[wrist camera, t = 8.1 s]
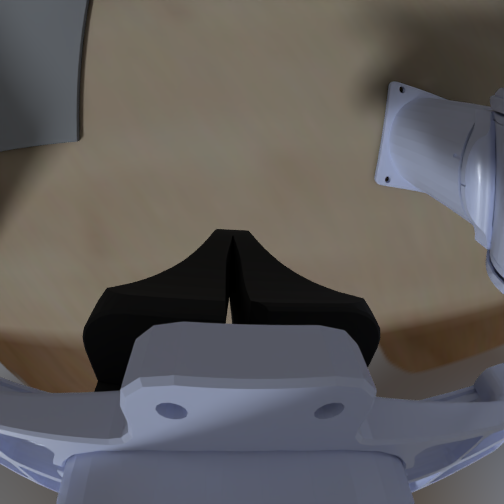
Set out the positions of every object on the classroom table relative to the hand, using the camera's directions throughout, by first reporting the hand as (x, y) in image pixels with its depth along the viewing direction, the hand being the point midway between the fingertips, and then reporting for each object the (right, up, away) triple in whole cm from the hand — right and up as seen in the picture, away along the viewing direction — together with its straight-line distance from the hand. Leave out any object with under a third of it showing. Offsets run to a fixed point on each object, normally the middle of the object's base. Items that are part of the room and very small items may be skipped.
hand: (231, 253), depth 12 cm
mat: (-20, +18, +1) cm, 27 cm away
